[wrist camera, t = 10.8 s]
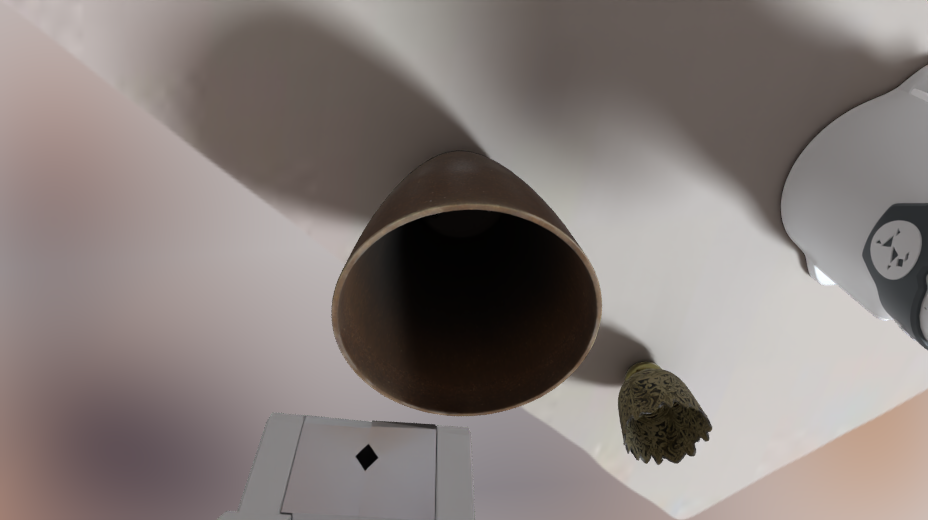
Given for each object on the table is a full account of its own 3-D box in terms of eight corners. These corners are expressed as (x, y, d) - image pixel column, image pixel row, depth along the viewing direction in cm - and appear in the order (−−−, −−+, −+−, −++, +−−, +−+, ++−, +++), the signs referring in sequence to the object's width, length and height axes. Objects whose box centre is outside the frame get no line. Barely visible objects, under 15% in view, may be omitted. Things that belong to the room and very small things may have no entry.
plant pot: (422, 58, 40) (411, 151, 27) (595, 160, 45) (659, 282, 31) (333, 223, 47) (289, 362, 34) (491, 297, 52) (507, 445, 38)
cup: (632, 332, 54) (659, 397, 48) (696, 357, 56) (730, 422, 50) (589, 385, 58) (607, 452, 51) (650, 407, 60) (676, 474, 53)
